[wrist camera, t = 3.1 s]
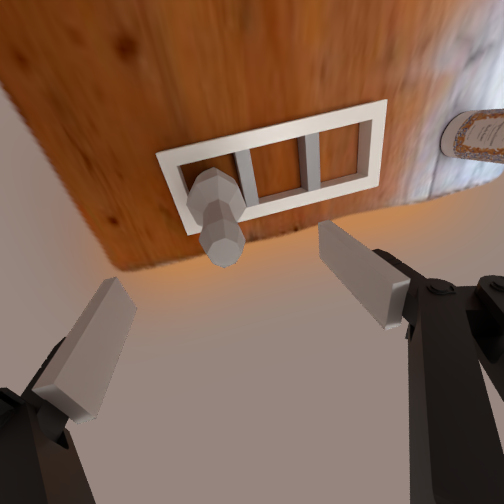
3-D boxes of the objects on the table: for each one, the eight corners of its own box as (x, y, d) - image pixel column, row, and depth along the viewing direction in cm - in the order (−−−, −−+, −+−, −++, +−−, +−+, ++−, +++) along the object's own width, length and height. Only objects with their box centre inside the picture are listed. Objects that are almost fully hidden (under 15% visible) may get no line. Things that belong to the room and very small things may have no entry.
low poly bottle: (242, 185, 35) (285, 252, 16) (213, 211, 36) (222, 302, 18) (213, 152, 32) (227, 188, 13) (183, 182, 33) (156, 254, 15)
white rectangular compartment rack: (188, 227, 37) (187, 235, 34) (159, 151, 31) (155, 153, 28) (366, 182, 39) (378, 185, 36) (373, 101, 33) (387, 99, 30)
